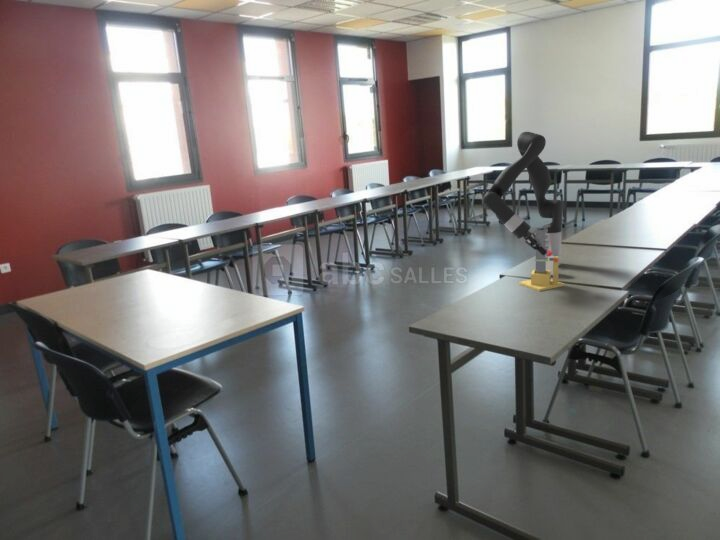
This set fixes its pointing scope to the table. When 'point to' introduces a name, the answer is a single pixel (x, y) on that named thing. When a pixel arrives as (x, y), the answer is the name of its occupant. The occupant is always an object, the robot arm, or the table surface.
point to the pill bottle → (549, 262)
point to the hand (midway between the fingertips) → (545, 252)
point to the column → (542, 241)
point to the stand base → (544, 278)
